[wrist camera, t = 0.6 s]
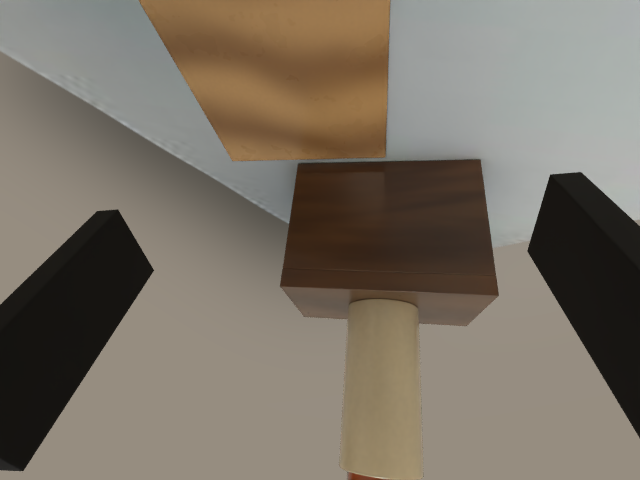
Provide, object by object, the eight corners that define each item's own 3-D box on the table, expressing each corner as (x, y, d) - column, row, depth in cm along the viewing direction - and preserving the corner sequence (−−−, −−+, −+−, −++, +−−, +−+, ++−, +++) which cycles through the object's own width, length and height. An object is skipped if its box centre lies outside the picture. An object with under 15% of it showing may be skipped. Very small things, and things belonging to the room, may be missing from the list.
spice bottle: (345, 296, 28) (331, 519, 22) (422, 300, 27) (430, 535, 21) (350, 314, 33) (341, 498, 27) (414, 318, 32) (419, 509, 26)
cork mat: (58, -148, 15) (54, -144, 14) (396, -218, 12) (396, -214, 12) (233, 157, 32) (232, 161, 32) (385, 153, 30) (385, 157, 30)
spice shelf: (297, 163, 32) (279, 286, 27) (480, 159, 30) (499, 295, 24) (315, 216, 41) (304, 316, 36) (457, 217, 38) (466, 326, 33)
